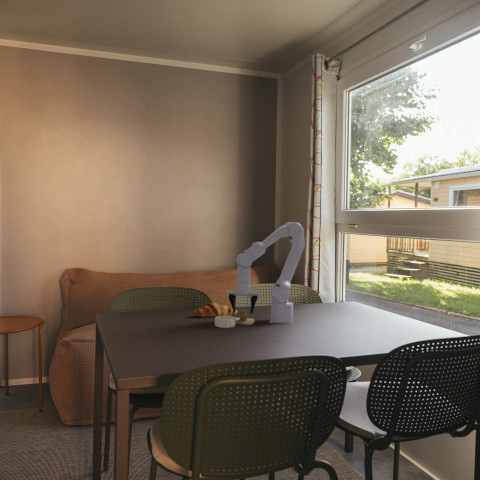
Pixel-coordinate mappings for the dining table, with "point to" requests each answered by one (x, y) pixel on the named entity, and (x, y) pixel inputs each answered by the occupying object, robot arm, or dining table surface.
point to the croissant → (214, 310)
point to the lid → (243, 318)
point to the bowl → (225, 321)
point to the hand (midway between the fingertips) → (243, 312)
